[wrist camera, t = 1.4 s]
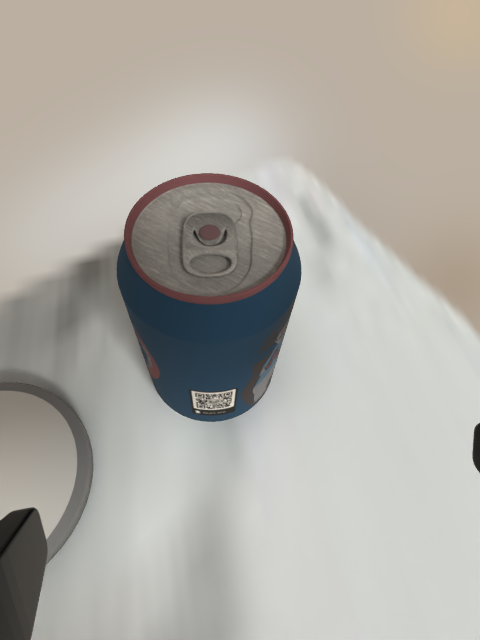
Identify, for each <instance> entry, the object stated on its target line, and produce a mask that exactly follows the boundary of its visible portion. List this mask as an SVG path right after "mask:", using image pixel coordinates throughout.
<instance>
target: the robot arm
mask: <svg viewBox="0 0 480 640" xmlns="http://www.w3.org/2000/svg"><path fill="white" fill-rule="evenodd" d="M473 462H474V465H475V467H476V468H477V470H478V471H479V472H480V423H479V424H477V425H476V427H475V429H474V440H473ZM47 555H48V545H47V540H46V536H45V533H44V529H43V525H42V521H41V518H40V514H39V512H38V510H37V509H36V508H34V507H30V508H25V509H20V510H15V511H12V512H10V513H9V514H7V515H6V516H5V517H4V518H2V519H1V520H0V640H31V636H32V631H33V626H34V621H35V616H36V611H37V606H38V601H39V596H40V591H41V586H42V581H43V576H44V571H45V566H46V561H47Z"/></svg>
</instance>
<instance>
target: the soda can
mask: <svg viewBox="0 0 480 640" xmlns="http://www.w3.org/2000/svg"><path fill="white" fill-rule="evenodd" d="M117 279H118V284H119V288H120V291H121V294H122V297H123V299H124V302H125V305H126V308H127V311H128V313H129V316H130V319H131V322H132V325H133V327H134V330H135V333H136V336H137V339H138V342H139V344H140V347H141V350H142V353H143V356H144V358H145V361H146V364H147V367H148V370H149V372H150V375H151V378H152V381H153V384H154V386H155V388H156V390H157V392H158V394H159V395H160V397H161V398H162V399H163V401H164V402H165V403H166V404H167V405H168V406H169V407H171V408H172V409H173V410H175V411H176V412H178V413H179V414H181V415H183V416H186V417H188V418H191V419H194V420H199V421H207V422H215V421H223V420H228V419H231V418H234V417H237V416H239V415H241V414H243V413H245V412H246V411H248V410H249V409H250V408H252V407H253V406H254V405H255V404H256V403H257V402H258V401H259V400H260V399H261V398H262V396H263V395H264V393H265V392H266V390H267V388H268V386H269V383H270V381H271V377H272V374H273V371H274V368H275V364H276V361H277V358H278V354H279V351H280V348H281V345H282V341H283V338H284V335H285V332H286V328H287V325H288V322H289V318H290V315H291V312H292V309H293V305H294V302H295V299H296V296H297V292H298V289H299V285H300V281H301V261H300V256H299V253H298V250H297V247H296V245H295V242H294V240H293V229H292V225H291V221H290V219H289V217H288V214H287V213H286V211H285V209H284V208H283V206H282V205H281V204H280V203H279V202H278V200H277V199H276V198H275V197H273V196H272V195H271V194H270V193H269V192H267V191H266V190H264V189H263V188H261V187H260V186H258V185H256V184H254V183H252V182H249V181H247V180H244V179H241V178H238V177H234V176H229V175H223V174H211V173H204V174H192V175H186V176H182V177H178V178H175V179H172V180H169V181H167V182H165V183H162V184H160V185H158V186H157V187H155V188H153V189H152V190H150V191H149V192H148V193H146V194H145V195H144V196H143V197H142V198H140V199H139V201H138V202H137V203H136V204H135V205H134V207H133V208H132V210H131V211H130V213H129V216H128V218H127V221H126V224H125V230H124V241H123V243H122V246H121V249H120V252H119V256H118V261H117Z"/></svg>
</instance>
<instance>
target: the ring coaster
mask: <svg viewBox="0 0 480 640" xmlns="http://www.w3.org/2000/svg"><path fill="white" fill-rule="evenodd" d="M92 476H93V455H92V448H91V444H90V440H89V437H88V434H87V432H86V429H85V427H84V426H83V424H82V422H81V420H80V419H79V418H78V417H77V415H76V414H75V413H74V412H73V411H72V409H71V408H70V407H69V406H68V405H66V404H65V403H64V402H63V401H62V400H61V399H60V398H58V397H57V396H55V395H54V394H52V393H51V392H49V391H46V390H44V389H42V388H39V387H36V386H33V385H29V384H22V383H0V520H1V519H2V518H4V517H5V516H6V515H7V514H9V513H10V512H12V511H15V510H20V509H25V508H30V507H34V508H36V509H37V510H38V512H39V514H40V518H41V521H42V525H43V529H44V533H45V536H46V540H47V545H48V555H47V561H46V564H47V563H48V562H49V561H50V560H51V559H52V558H53V557H54V555H55V554H56V553H57V552H58V551H59V550H60V549H61V547H62V546H63V545H64V543H65V542H66V541H67V539H68V538H69V536H70V535H71V534H72V532H73V530H74V528H75V526H76V525H77V523H78V521H79V519H80V517H81V515H82V512H83V510H84V508H85V506H86V502H87V499H88V496H89V493H90V488H91V482H92Z"/></svg>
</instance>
